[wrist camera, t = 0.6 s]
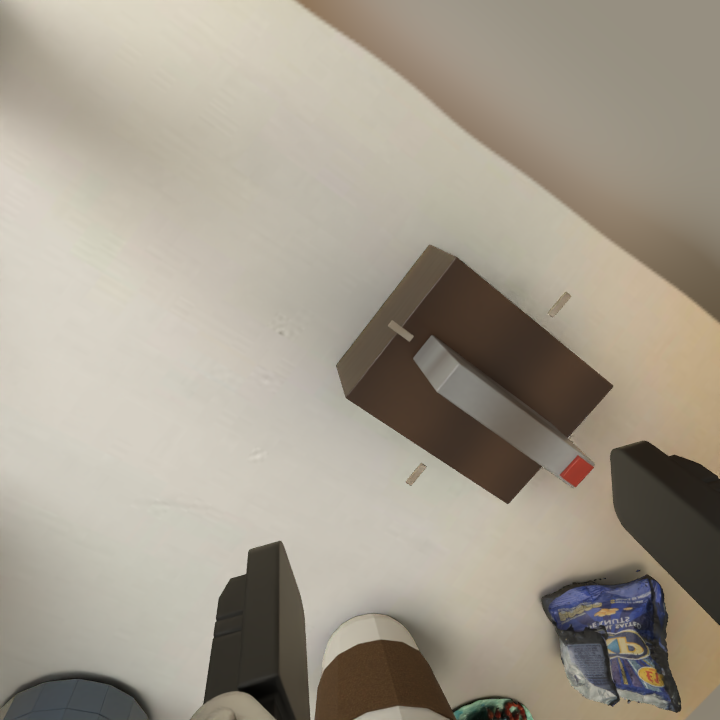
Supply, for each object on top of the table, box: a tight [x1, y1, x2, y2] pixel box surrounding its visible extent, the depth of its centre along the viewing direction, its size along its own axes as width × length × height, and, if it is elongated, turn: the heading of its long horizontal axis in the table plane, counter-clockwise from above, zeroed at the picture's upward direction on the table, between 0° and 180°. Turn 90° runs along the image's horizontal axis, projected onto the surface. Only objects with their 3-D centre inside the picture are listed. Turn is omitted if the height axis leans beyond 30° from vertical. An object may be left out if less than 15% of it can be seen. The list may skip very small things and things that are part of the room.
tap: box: [413, 335, 595, 488], centre depth 27 cm, size 9×2×5 cm, turn 52°
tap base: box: [336, 245, 613, 504], centre depth 31 cm, size 13×13×5 cm
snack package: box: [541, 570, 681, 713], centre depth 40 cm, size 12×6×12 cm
